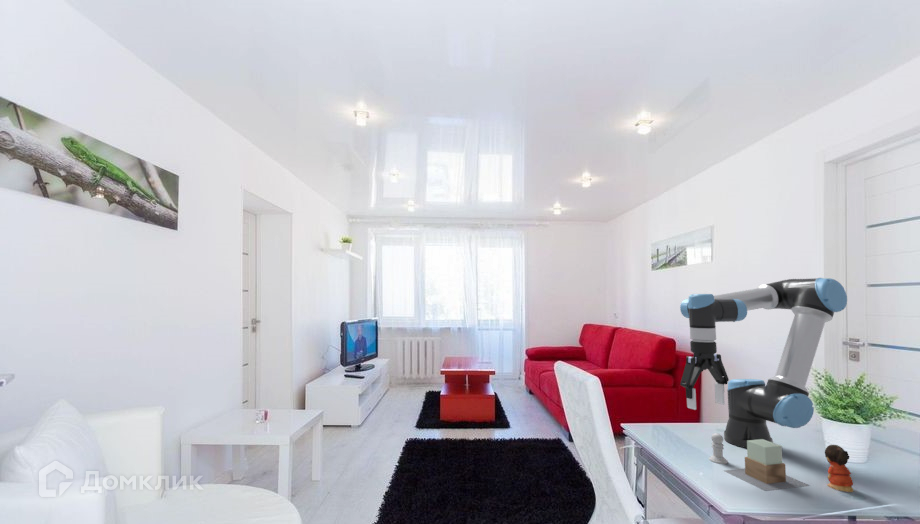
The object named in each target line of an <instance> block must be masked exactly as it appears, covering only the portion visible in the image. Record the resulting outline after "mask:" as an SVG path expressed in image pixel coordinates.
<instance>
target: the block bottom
mask: <svg viewBox="0 0 920 524" xmlns="http://www.w3.org/2000/svg"><path fill="white" fill-rule="evenodd" d="M744 468H745V474H747V475H749V476H751V477H753V478H755V479H757V480H759V481H761V482H764V483H766V484H770V483H779V482H786V475H787V474H786V463H785V462H784V463H783V462H782V464H772V465H764V464H762V463H759V462H757V461H755V460H752V459H750V458H748V457H747V456H744Z"/></svg>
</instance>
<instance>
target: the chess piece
mask: <svg viewBox="0 0 920 524" xmlns="http://www.w3.org/2000/svg"><path fill="white" fill-rule="evenodd" d="M711 442H712V443H711V447H712V455H711V456H709V457H708V460H709V461H710V462H712V463H715V464H719V465H720V464H721V465H727V464H728V462H729V461H728V459H727V458H726V457H724V456H723V454H724V453H723V450H725V449H724V444H723V442H724V436H723V435H721V434H720V433H718V432H717V433H716V432H715V433H712V435H711Z"/></svg>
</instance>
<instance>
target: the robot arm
mask: <svg viewBox="0 0 920 524" xmlns="http://www.w3.org/2000/svg"><path fill="white" fill-rule="evenodd" d="M847 304H848V296H847V291H846V290H845V288H844V286H843V285H842V284H841V282H839V281H838V280H836V279H833V278H827V277H826V278H824V277H817V278H816V277H815V278H789V279H783V280H779V281H775V282H771V283H766V284H761V285H759V286H757V287H756V288H752V289H746V290H740V291H734V292H727V293H722V294H715V295H714V294H712V293H692V294H690V295H689V296H688V298H686V299H683V300H682V301H681V303H680V306H679V309H680V313H681V315H682V316H683V317H685V318H687V319H688V321H689V338H690V339H691V340H690V342H689V344H690V347H689V348H690V352H691V353H693V356H690V355H686V359H685V366H684V370H683V373H682V376H681V380H680V383H679V385H680V386H681V387H683V388H685V396H686V407H687V408H688V409H690V410H694V411H696V410H697V393H696V388H695V385H696V383H697V380H698V379H699V377H700V375H701V373H702V372H704V371H706V370H708V372H709V373H710V375H711V376H712V378H713V380H714V381H715V382H714V401H715V404H719V405H726V404H725V385H727V390H726V391H727V408H728V420H727V424H726V426H725V430H724V431H723V441H726V442H727V443H729V444H731V445H733V446H737V447H741V448H745V449H747V440H759V439H764V440H767V441H769V442H772V443H774V441H773V437H771V434H770V431H769V427H768V424H767V421H768V422H770V423H774V424H776V425H779V426H781V427H787V428H791V429H799V428H801V427H804V426H806V425H808V423H809V422H810V421H811V419H812V418H813V415H814V412H815V410H814V409H815V407H814V403H813V401H812V399H811V398H810V397H809V395H810V392H809V391H808V389H807V387H806V385H807V381H808V379H809V376H810V372H811V369H812V367H813V362H814V360H815V357H816V353H817V350H818V347H819V344H820V343H819V342H820V340H821V337H822V333H823V332H824V331H823V330H824V327H825V324H826V323H827V322H830V321H832V320H833V317H834V314H835V313H840V312H842V311H843V310H844V309H845V308H846V307H847ZM759 309H764V310H767V311H768V310H773V309H774V310H775V309H779V310H780V309H781V310H791V312H792V313H793V314H794V316H793V319H792V323H791V325H790V328H789V332H788V334H787V338H786V342H785V345H784V347H783V349H782V350H783V351H782V353H781V356H780V359H779V363H778V366H777V369H776V372H775V376H773V377H770V378H768V379H767V382H765V380H763V379H756V378H753V379H752V378H733V379H729V376H728V374H727V370H726V369H725V366H724V363H723V360H722V355H721V354H718V353H717V349H718V347H717V342H716V340H717V329H716V323H723V322H724V323H726V322H728V323H730V322H731V323H735V322H741V321H743V320H745V319H746V317H747V315H748V311H752V310H753V311H754V310H759Z"/></svg>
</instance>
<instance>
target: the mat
mask: <svg viewBox="0 0 920 524" xmlns="http://www.w3.org/2000/svg"><path fill="white" fill-rule="evenodd" d="M723 472H726V473H727V474H730V475H731V476H733V477H736V478H737V479H740V480H742V481H744V482H745V483H748V484H750V485H751V486H754V487H756V488H758V489H760V490H763V491H765V492H769V491H777V490H778V491H779V490H785V489H793V488H794V489H795V488H802V487H811V484H808V483H805V482H803V481H801V480H798V479H796V478H794V477H792V476H790V475H787V474H786V482H779V483H770V484H766V483H764V482H761V481H759V480H757V479H755V478H753V477H751V476H749V475H747V474H745V467H744V468H736V469H726V470H725V469H724V470H723Z"/></svg>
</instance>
